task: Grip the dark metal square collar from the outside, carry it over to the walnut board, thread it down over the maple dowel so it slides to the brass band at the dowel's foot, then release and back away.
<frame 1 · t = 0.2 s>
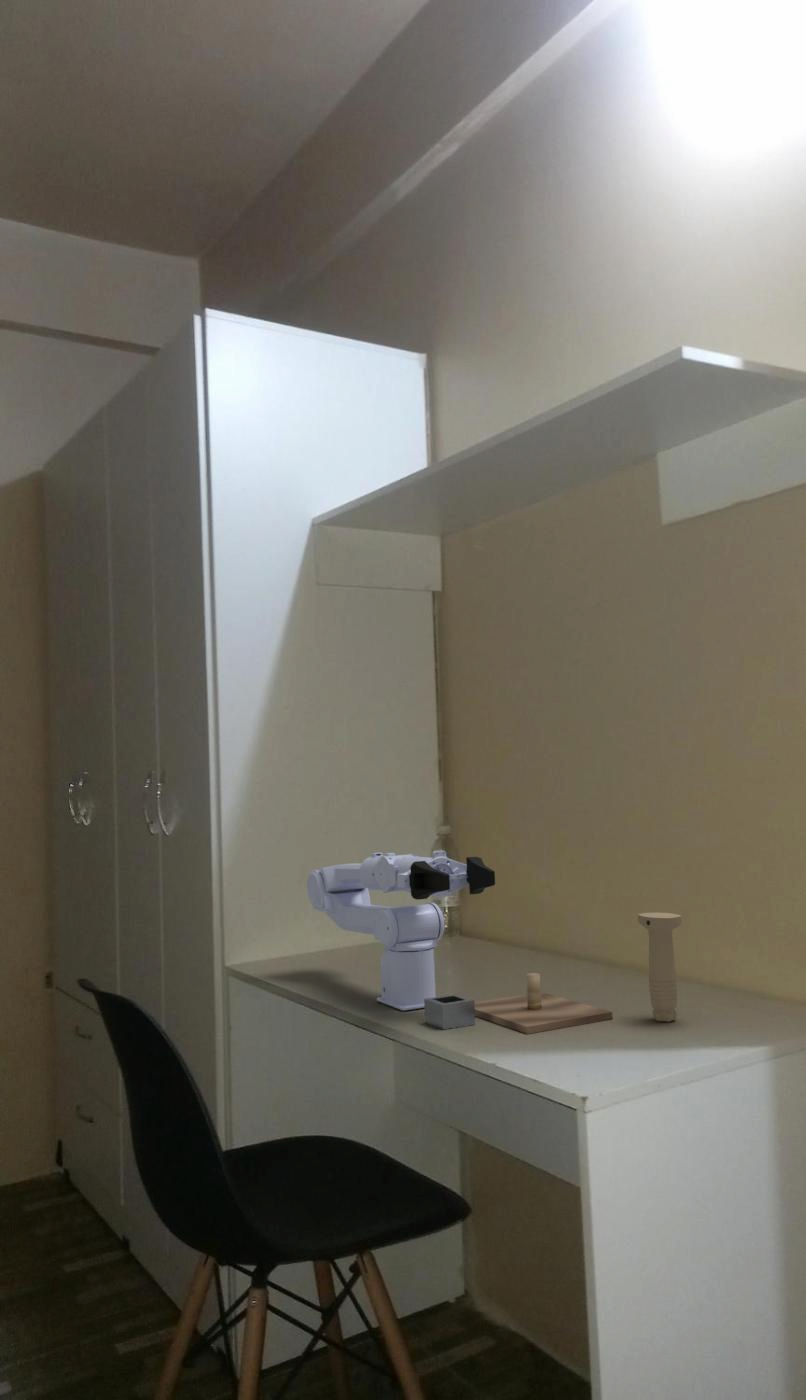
hand: (470, 880, 162), 21 cm above the table, tool horizontal, fingers open, 7 cm apart
collar: (450, 1023, 164), on the table
handle: (664, 1021, 161), on the table
board: (534, 1014, 167), on the table
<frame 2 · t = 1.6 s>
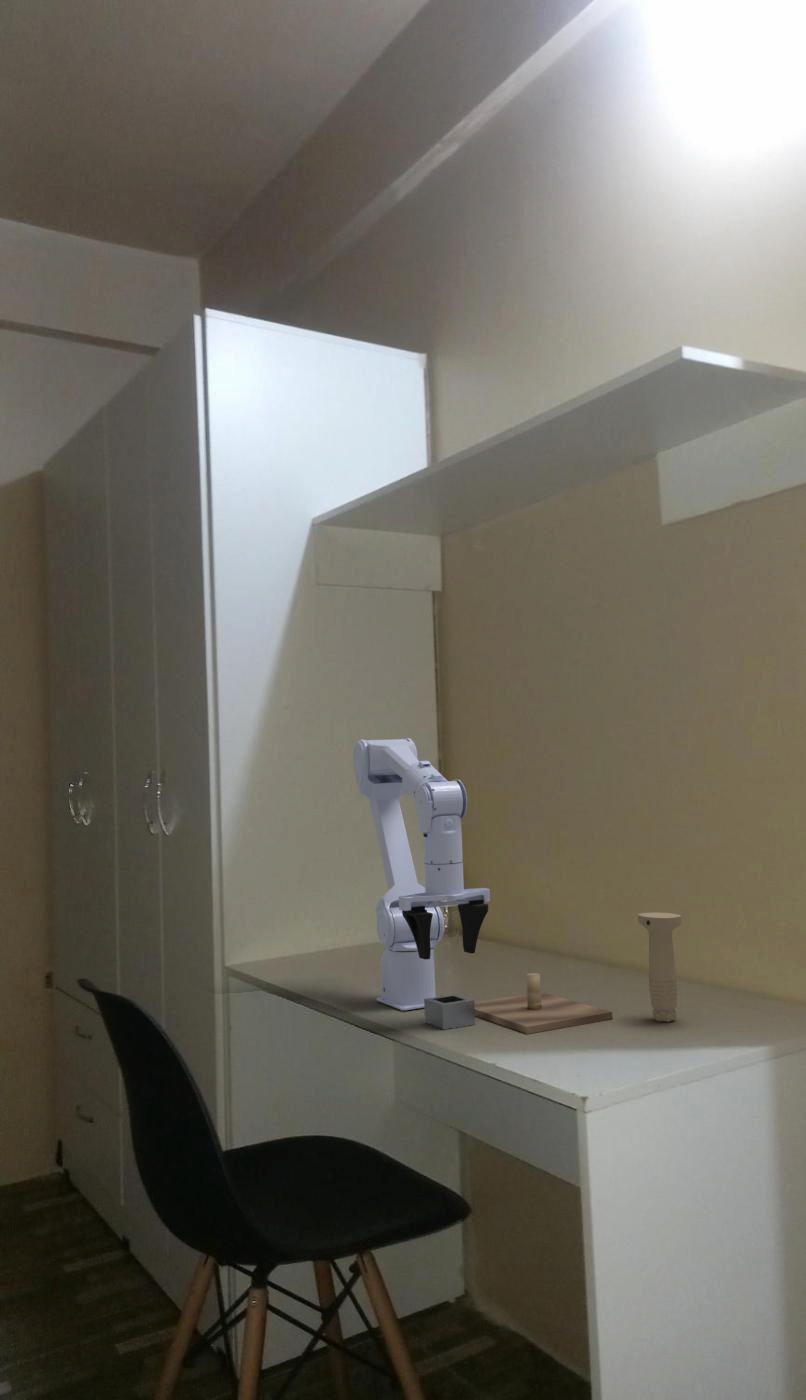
hand: (447, 955, 164), 10 cm above the table, tool pointing down, fingers open, 7 cm apart
nothing on the table moved.
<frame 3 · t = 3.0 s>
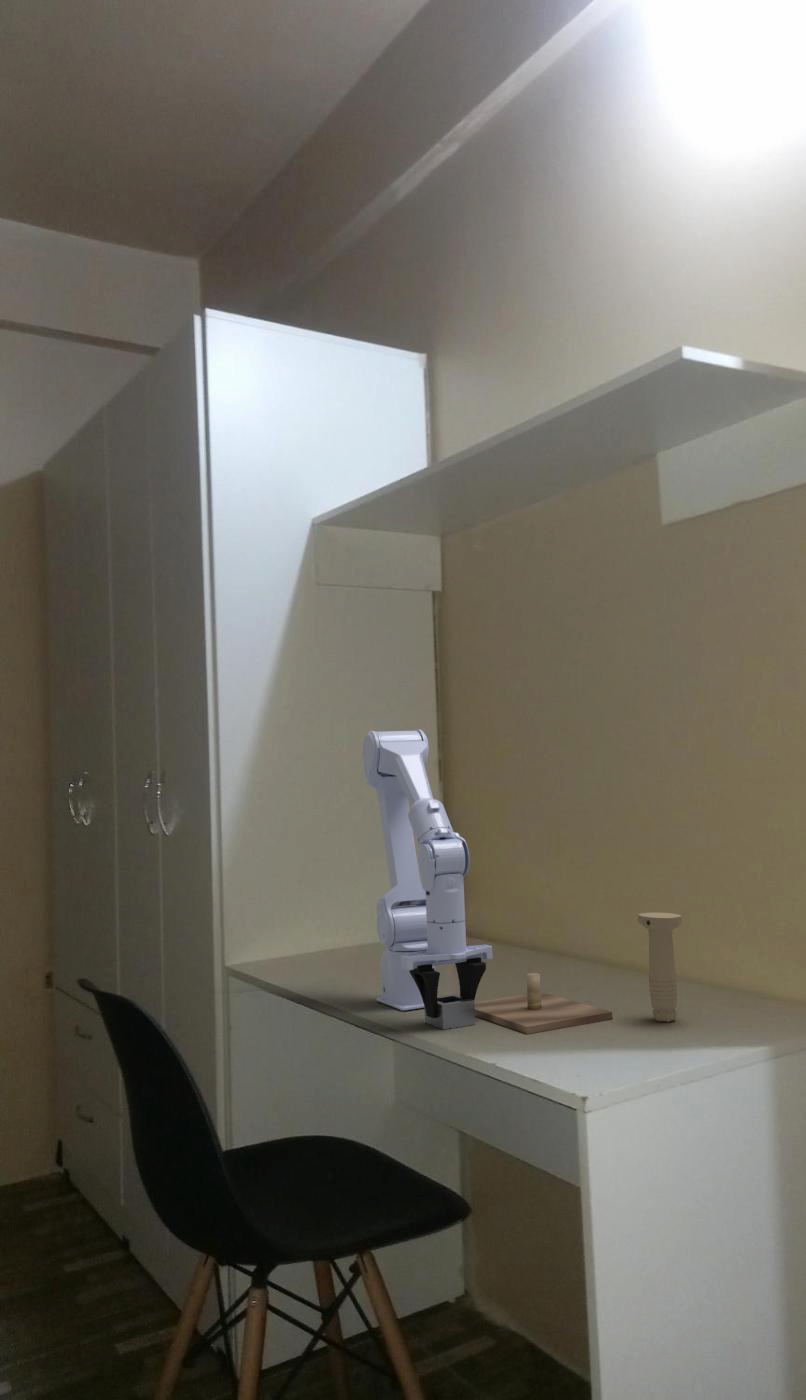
hand: (449, 1013, 164), 1 cm above the table, tool pointing down, fingers closed on collar, 5 cm apart
collar: (450, 1023, 164), on the table, touching gripper
everything else where it was.
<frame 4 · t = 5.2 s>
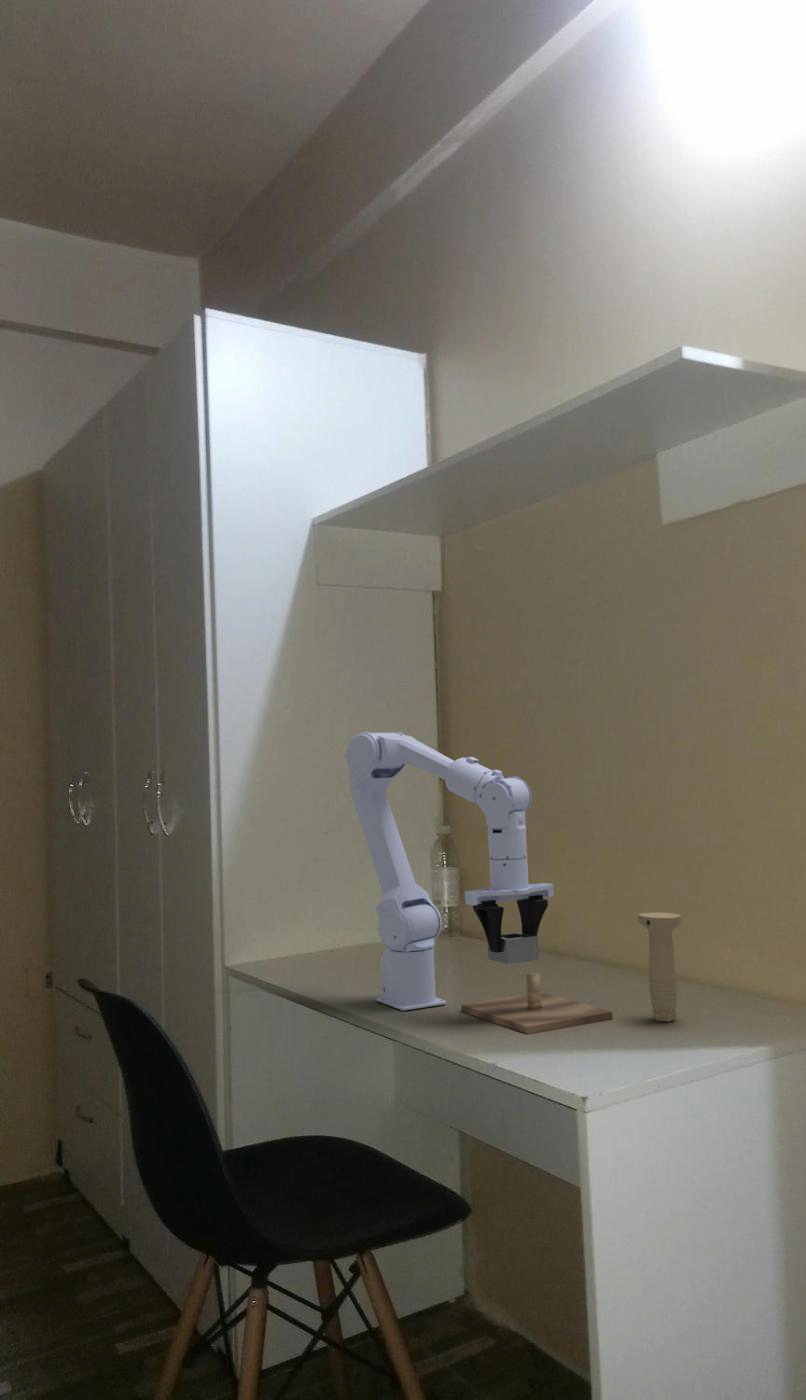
hand: (512, 949, 167), 10 cm above the table, tool pointing down, fingers closed on collar, 5 cm apart
collar: (513, 959, 167), point 9 cm above the table, touching gripper
everything else where it was.
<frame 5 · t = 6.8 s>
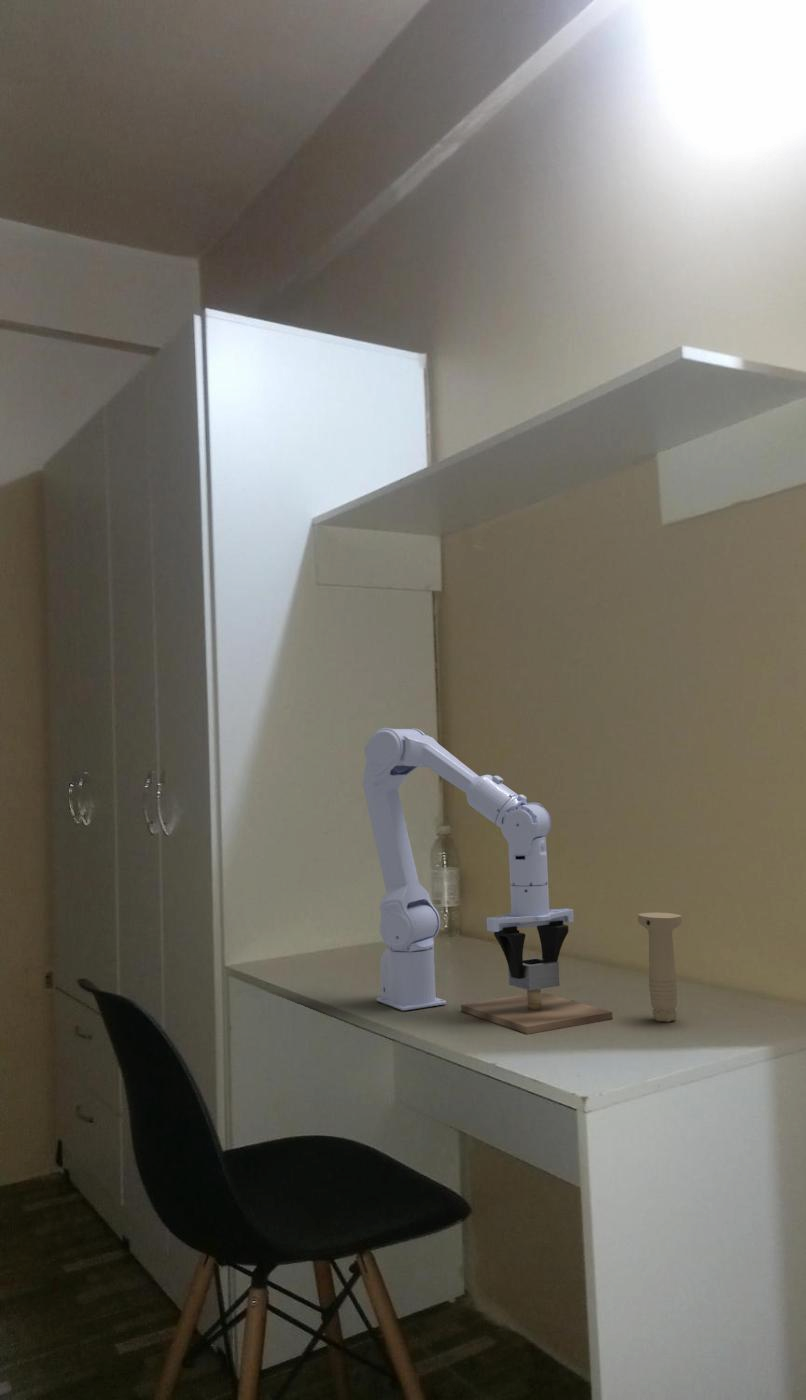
hand: (533, 975, 168), 6 cm above the table, tool pointing down, fingers closed on collar, 5 cm apart
collar: (534, 985, 168), point 4 cm above the table, touching gripper
everything else where it was.
when the fingers open (4 cm above the table, at t = 7.8 s): collar drops 1 cm, resting on board.
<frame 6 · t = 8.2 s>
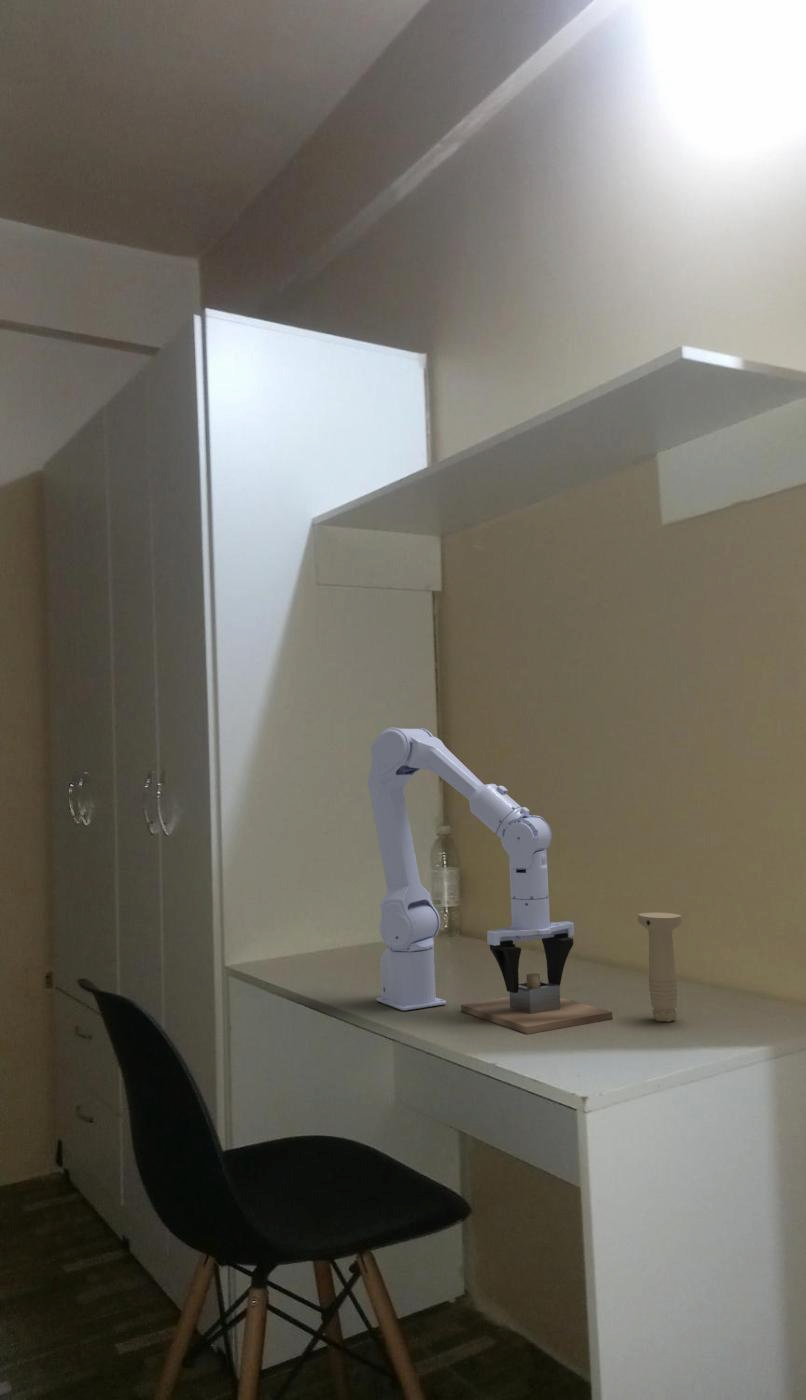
hand: (533, 988, 168), 4 cm above the table, tool pointing down, fingers open, 7 cm apart
collar: (535, 1008, 167), point 1 cm above the table, touching board
everything else where it was.
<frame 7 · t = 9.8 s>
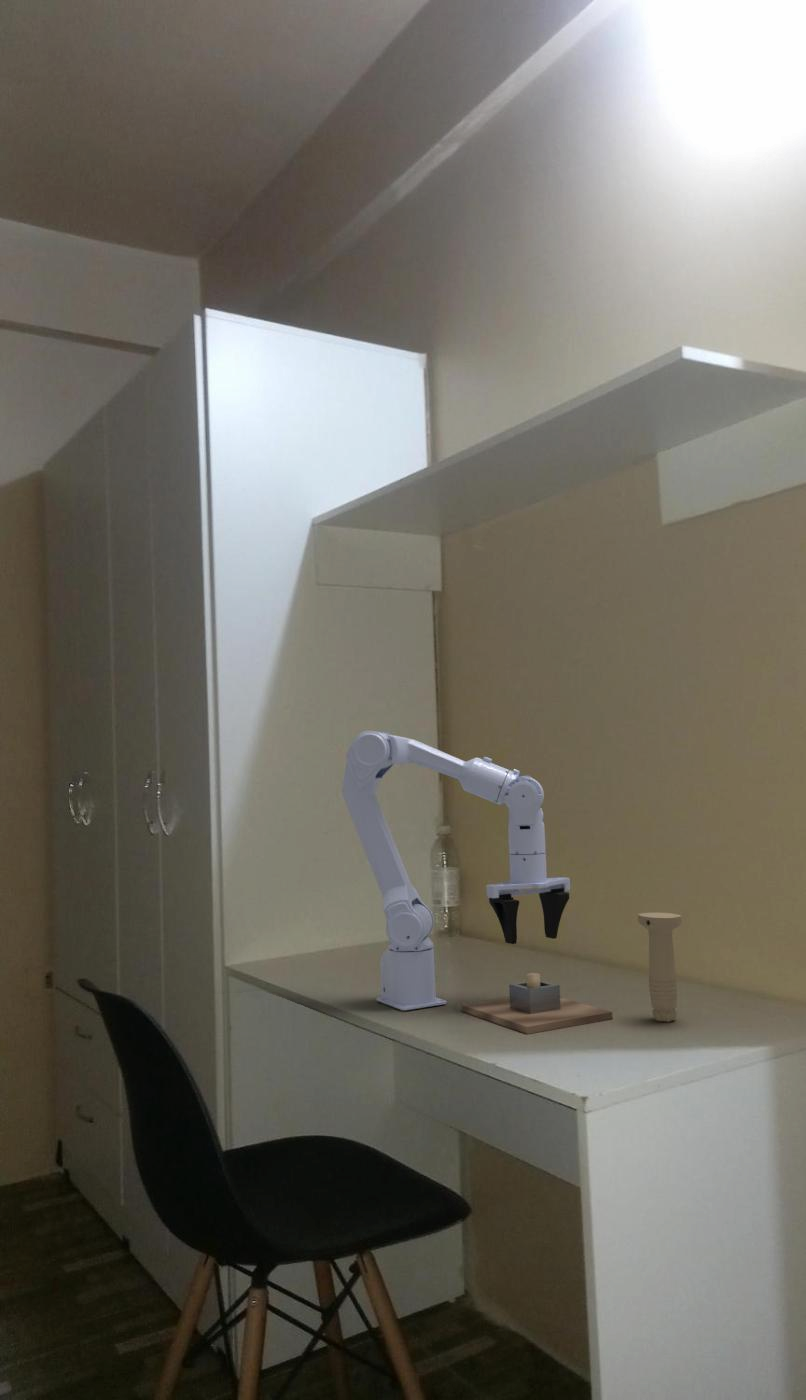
hand: (531, 940, 175), 10 cm above the table, tool pointing down, fingers open, 7 cm apart
nothing on the table moved.
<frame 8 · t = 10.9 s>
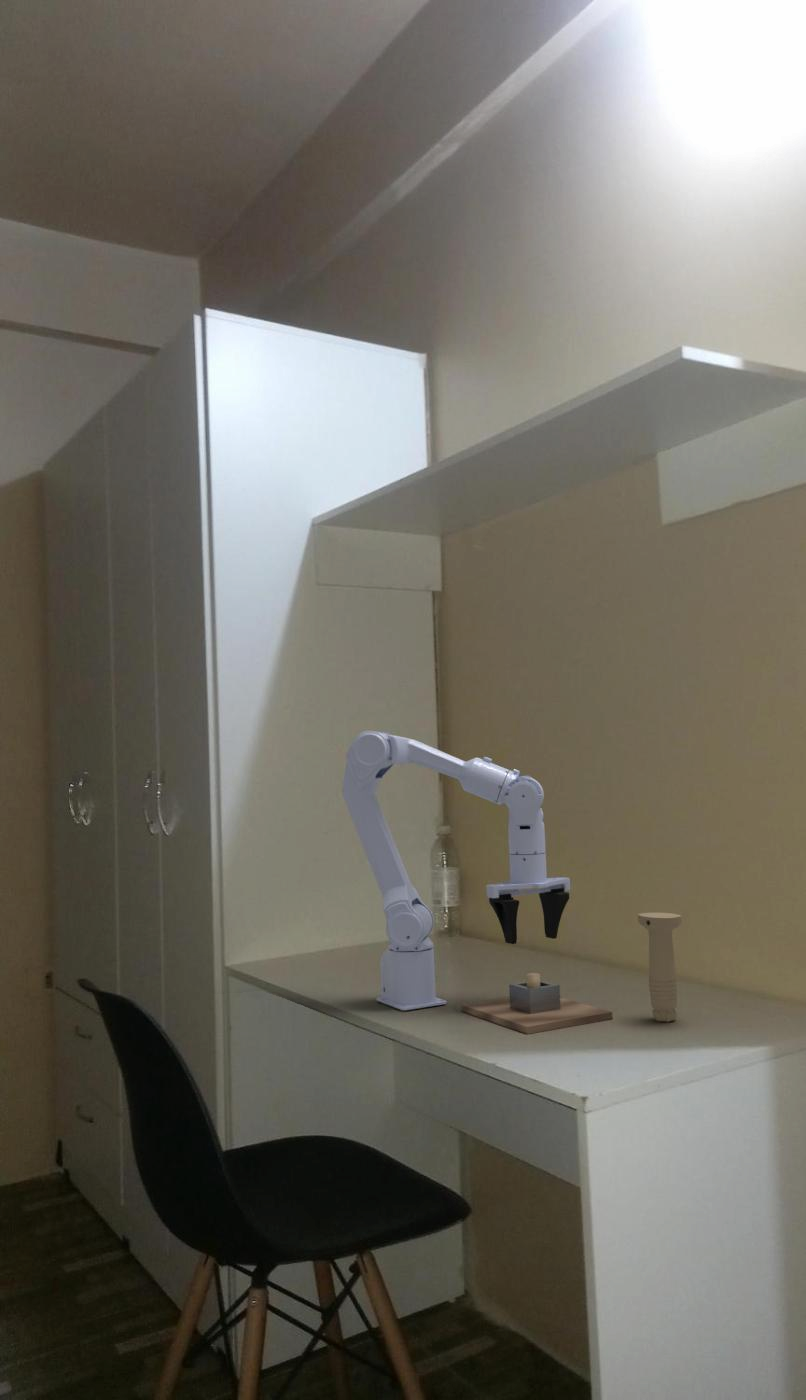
hand: (531, 940, 175), 10 cm above the table, tool pointing down, fingers open, 7 cm apart
nothing on the table moved.
at the end: collar 0.1 cm off-centre on the board, point 1.0 cm above the board's base; collar tilted 0°; the gripper is holding nothing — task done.
